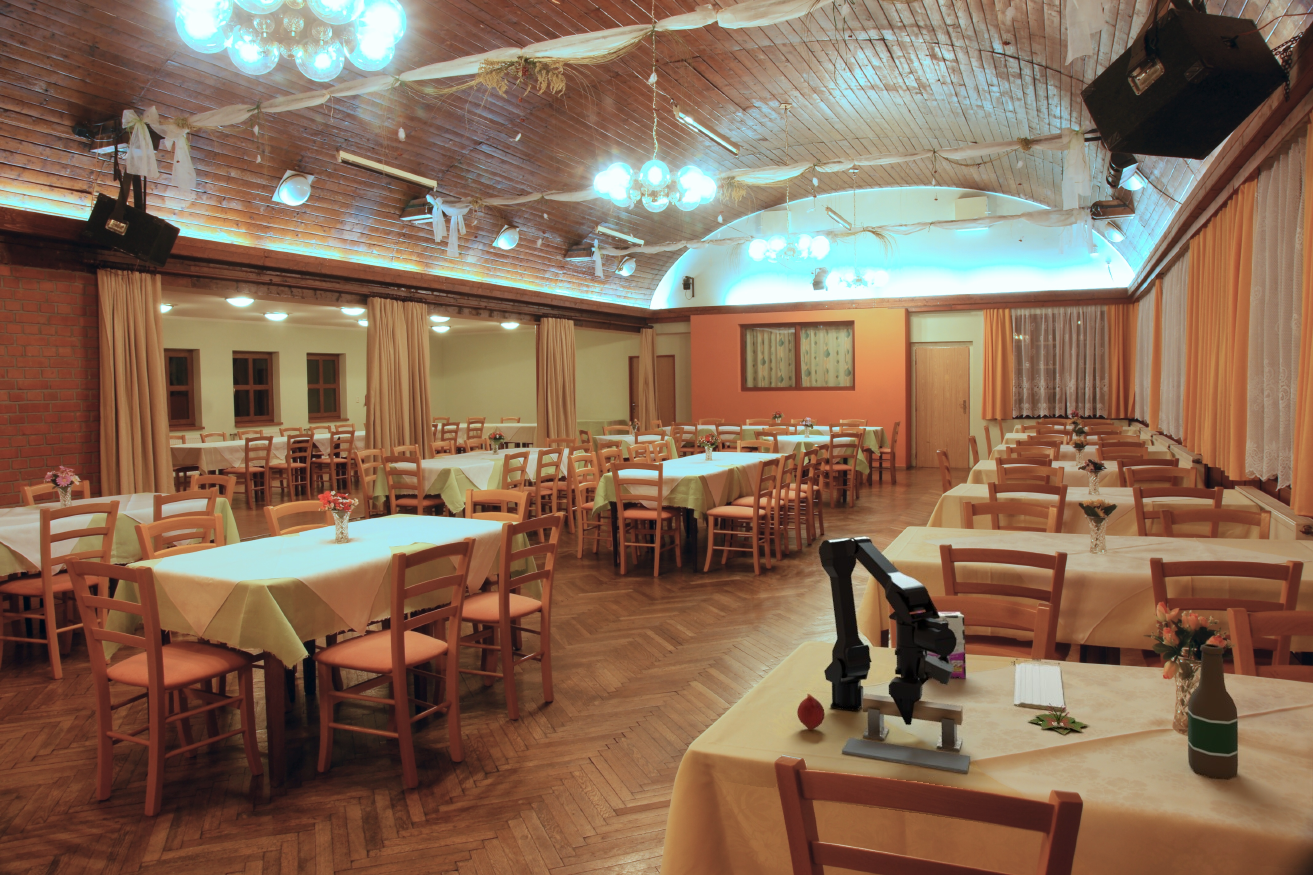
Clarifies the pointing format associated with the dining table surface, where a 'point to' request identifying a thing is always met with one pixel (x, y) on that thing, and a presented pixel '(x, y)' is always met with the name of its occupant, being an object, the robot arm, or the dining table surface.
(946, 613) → the candy bar box
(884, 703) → the rail
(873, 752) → the mat
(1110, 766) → the dining table surface
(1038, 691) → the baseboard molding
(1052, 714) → the lily flower
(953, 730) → the post right
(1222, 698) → the beer bottle
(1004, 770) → the dining table surface
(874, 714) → the post left
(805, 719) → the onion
